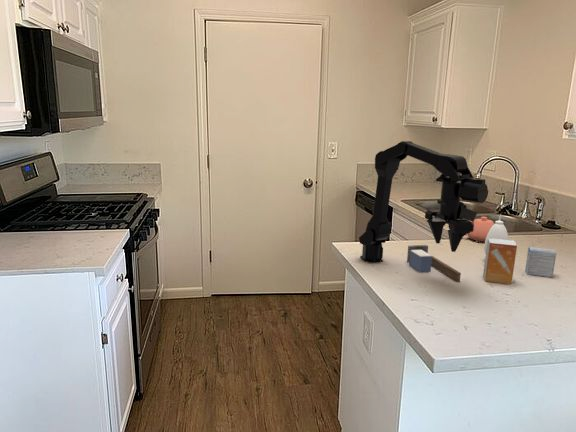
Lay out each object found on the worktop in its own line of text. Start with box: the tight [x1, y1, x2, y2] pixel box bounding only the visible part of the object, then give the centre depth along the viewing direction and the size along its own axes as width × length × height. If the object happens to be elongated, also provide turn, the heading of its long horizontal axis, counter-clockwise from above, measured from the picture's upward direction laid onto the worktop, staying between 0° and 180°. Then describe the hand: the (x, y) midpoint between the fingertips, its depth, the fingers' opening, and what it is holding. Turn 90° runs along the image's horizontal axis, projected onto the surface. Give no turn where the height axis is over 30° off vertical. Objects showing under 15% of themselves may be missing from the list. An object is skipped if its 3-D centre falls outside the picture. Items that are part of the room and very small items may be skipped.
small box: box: [482, 238, 518, 285], centre depth 150 cm, size 8×6×13 cm
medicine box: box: [525, 246, 557, 278], centre depth 157 cm, size 8×4×9 cm, turn 71°
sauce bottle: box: [484, 213, 510, 255], centre depth 168 cm, size 8×8×18 cm
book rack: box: [406, 244, 462, 283], centre depth 158 cm, size 8×22×6 cm, turn 12°
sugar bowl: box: [465, 216, 495, 243], centre depth 199 cm, size 12×14×10 cm
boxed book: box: [408, 250, 433, 273], centre depth 161 cm, size 4×8×6 cm, turn 12°
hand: (445, 247), depth 144 cm, fingers open, 9 cm apart
